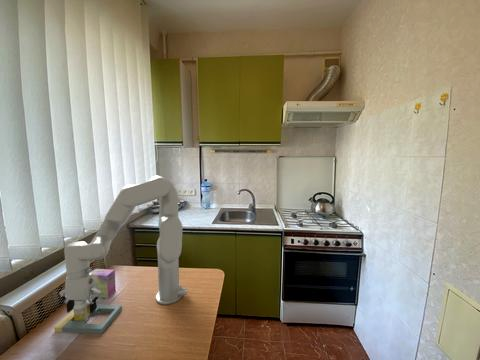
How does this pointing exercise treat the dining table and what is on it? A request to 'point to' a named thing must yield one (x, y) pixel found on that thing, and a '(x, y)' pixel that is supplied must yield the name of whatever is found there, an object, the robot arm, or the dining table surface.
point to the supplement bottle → (81, 310)
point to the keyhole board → (82, 327)
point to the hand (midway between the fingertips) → (82, 310)
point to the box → (104, 282)
